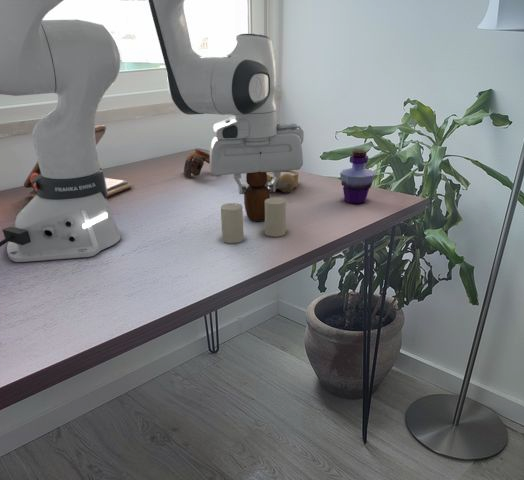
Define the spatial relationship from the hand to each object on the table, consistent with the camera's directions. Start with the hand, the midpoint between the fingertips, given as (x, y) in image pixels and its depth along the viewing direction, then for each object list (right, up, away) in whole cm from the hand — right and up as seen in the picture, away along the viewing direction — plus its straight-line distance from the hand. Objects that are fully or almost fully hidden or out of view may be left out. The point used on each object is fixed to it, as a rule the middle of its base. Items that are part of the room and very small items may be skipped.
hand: (257, 192), depth 112 cm
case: (-48, +7, +23) cm, 54 cm away
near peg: (-5, -12, -7) cm, 15 cm away
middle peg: (+4, -10, -4) cm, 12 cm away
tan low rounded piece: (+5, +8, +24) cm, 26 cm away
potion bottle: (+24, +2, +13) cm, 28 cm away
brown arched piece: (-17, +16, +36) cm, 43 cm away
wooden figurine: (0, -5, +4) cm, 6 cm away
